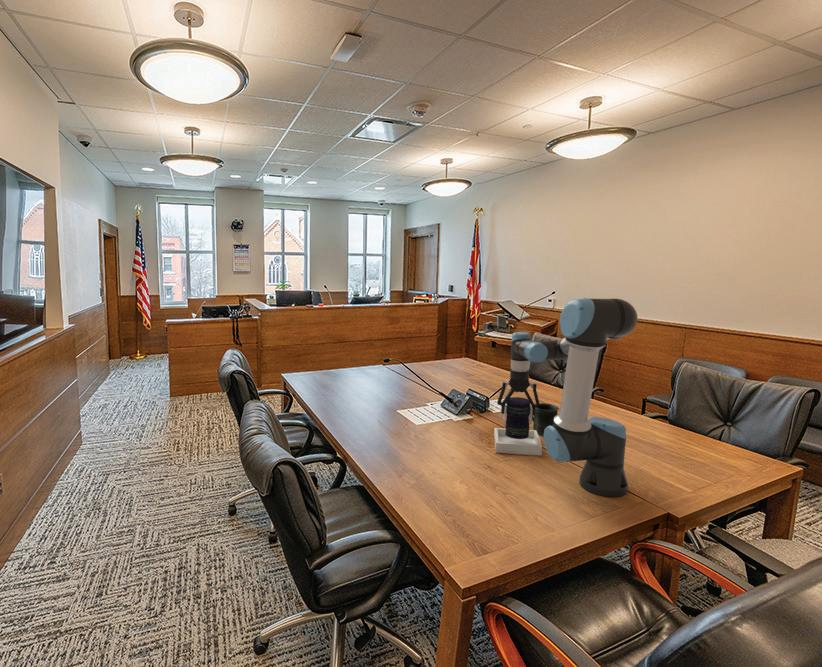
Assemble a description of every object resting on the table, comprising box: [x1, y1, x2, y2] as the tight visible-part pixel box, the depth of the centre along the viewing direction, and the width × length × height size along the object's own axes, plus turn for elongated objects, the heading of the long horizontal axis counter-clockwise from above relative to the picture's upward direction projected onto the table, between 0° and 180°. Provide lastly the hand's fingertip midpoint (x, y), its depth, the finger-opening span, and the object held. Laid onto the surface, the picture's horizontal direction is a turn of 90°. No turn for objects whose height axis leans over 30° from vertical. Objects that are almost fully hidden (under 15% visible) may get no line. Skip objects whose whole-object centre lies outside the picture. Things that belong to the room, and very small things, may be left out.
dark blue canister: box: [504, 396, 531, 439], centre depth 182 cm, size 10×10×15 cm
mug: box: [532, 402, 560, 436], centre depth 200 cm, size 11×15×12 cm
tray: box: [493, 427, 543, 456], centre depth 183 cm, size 18×18×4 cm
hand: (517, 421), depth 182 cm, fingers closed on dark blue canister, 10 cm apart
